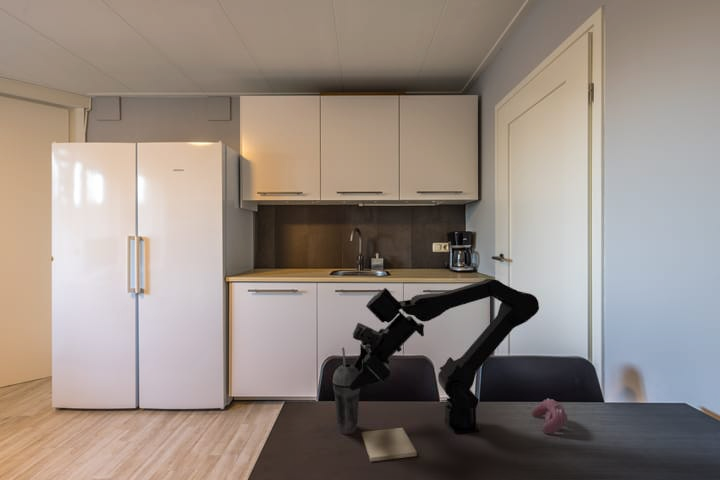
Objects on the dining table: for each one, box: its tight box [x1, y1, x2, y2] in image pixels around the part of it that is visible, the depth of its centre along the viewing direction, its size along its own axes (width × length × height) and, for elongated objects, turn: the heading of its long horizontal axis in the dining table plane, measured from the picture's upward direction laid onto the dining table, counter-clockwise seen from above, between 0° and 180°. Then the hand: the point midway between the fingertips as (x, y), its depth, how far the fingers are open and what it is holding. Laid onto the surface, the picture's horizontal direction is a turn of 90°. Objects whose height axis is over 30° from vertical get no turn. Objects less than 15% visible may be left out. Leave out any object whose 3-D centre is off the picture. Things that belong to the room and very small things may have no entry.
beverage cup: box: [332, 347, 361, 435], centre depth 83 cm, size 7×7×20 cm
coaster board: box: [361, 427, 418, 462], centre depth 75 cm, size 10×10×1 cm
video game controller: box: [531, 397, 568, 435], centre depth 83 cm, size 10×5×7 cm, turn 169°
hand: (350, 381), depth 83 cm, fingers open, 9 cm apart
